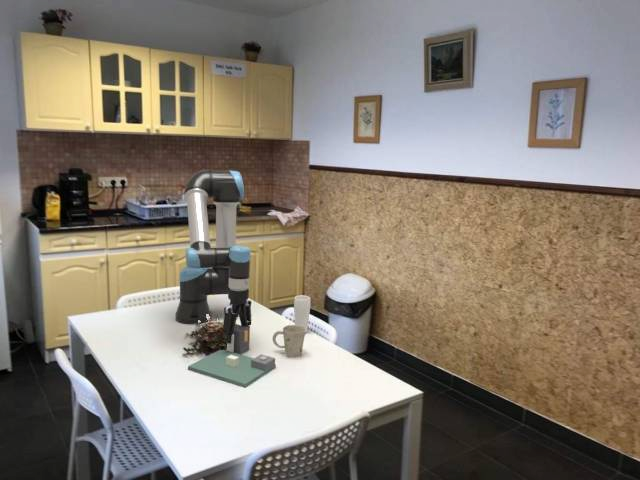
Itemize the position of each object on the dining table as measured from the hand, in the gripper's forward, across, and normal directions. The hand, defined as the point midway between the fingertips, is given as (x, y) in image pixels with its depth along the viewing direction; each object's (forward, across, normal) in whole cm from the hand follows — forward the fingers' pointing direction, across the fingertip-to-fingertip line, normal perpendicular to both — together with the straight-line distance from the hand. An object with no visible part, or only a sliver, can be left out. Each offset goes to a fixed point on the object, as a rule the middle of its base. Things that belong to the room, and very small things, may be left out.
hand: (236, 347), depth 193 cm
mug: (+1, +9, -17) cm, 19 cm away
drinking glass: (+1, +31, -10) cm, 33 cm away
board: (+2, -13, -8) cm, 15 cm away
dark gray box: (+1, +1, 0) cm, 2 cm away
